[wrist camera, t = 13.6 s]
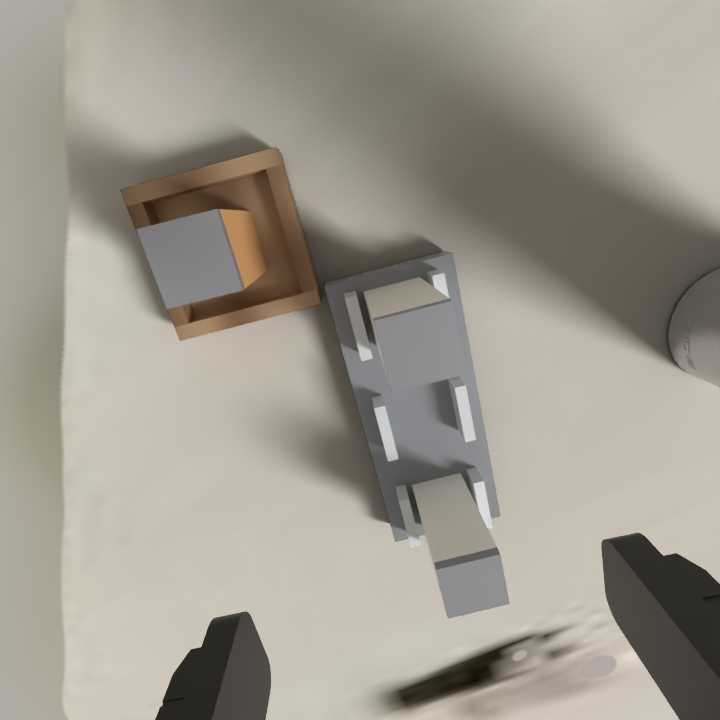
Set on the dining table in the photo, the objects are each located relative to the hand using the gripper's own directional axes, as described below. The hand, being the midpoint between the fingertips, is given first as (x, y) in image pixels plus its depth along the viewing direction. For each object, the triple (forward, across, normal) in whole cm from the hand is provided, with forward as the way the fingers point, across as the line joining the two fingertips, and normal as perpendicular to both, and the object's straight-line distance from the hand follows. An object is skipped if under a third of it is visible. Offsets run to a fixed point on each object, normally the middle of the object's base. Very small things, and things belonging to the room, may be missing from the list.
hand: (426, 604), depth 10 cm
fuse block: (+25, -2, +6) cm, 26 cm away
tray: (+24, +8, -8) cm, 27 cm away
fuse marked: (+24, +8, -8) cm, 26 cm away
